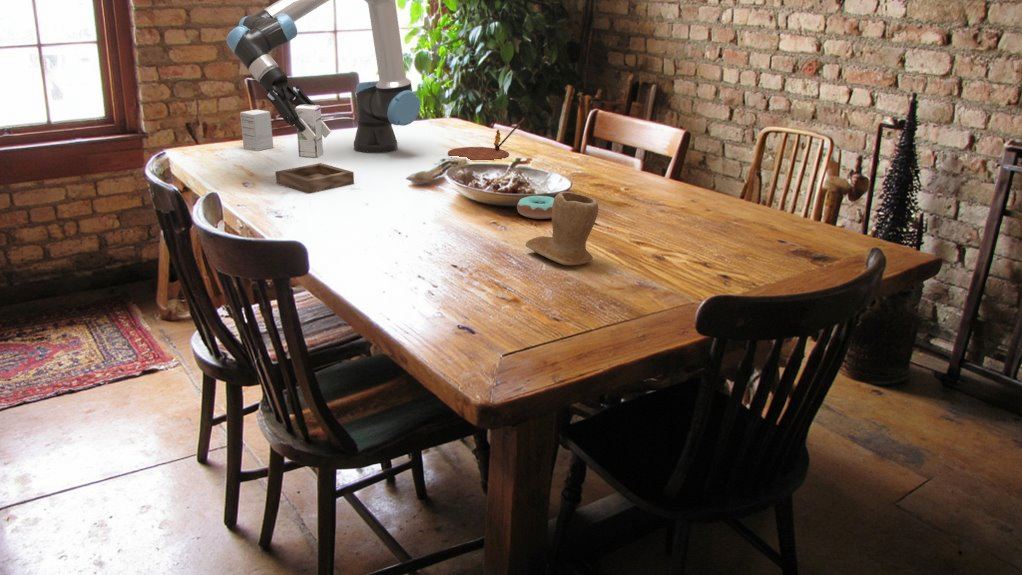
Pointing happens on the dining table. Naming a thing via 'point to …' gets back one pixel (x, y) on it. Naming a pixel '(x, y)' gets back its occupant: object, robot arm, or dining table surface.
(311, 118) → the syrup box
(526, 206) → the donut
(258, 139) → the supplement box
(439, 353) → the dining table surface
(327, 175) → the walnut tray
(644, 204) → the dining table surface
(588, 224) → the brown hollow piece
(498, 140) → the incense holder
